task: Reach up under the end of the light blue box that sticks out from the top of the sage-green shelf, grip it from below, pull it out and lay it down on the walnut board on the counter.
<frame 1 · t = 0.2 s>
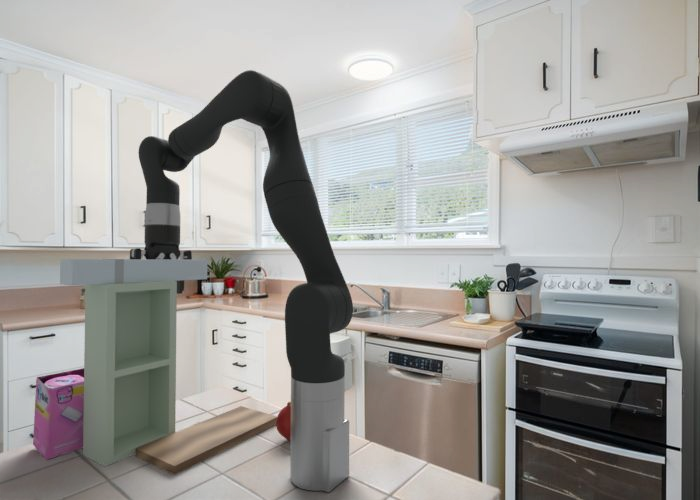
hand: (161, 294, 94), 29 cm above the countertop, tool pointing down, fingers open, 8 cm apart
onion: (290, 441, 84), on the countertop
board: (213, 438, 84), on the countertop
shelf: (131, 445, 81), on the countertop
light blue box: (142, 281, 83), point 33 cm above the countertop, touching shelf
gum box: (102, 433, 86), on the countertop
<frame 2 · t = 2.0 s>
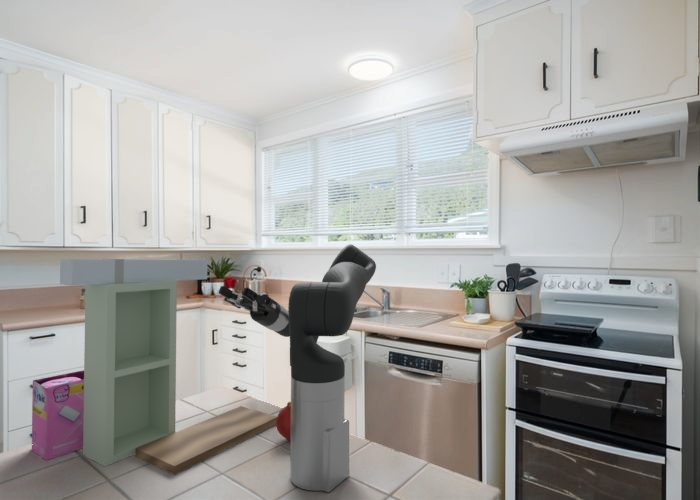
hand: (232, 289, 103), 29 cm above the countertop, tool pointing upward, fingers open, 8 cm apart
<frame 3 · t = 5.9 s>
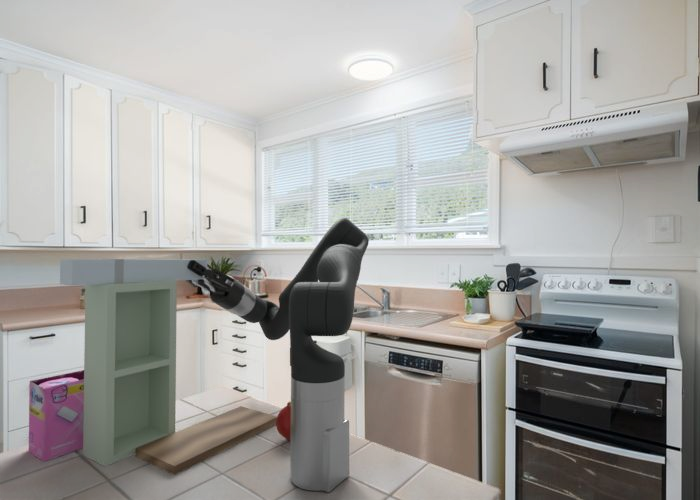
hand: (182, 263, 91), 36 cm above the countertop, tool pointing upward, fingers closed on light blue box, 4 cm apart
light blue box: (142, 281, 83), point 33 cm above the countertop, touching gripper, shelf
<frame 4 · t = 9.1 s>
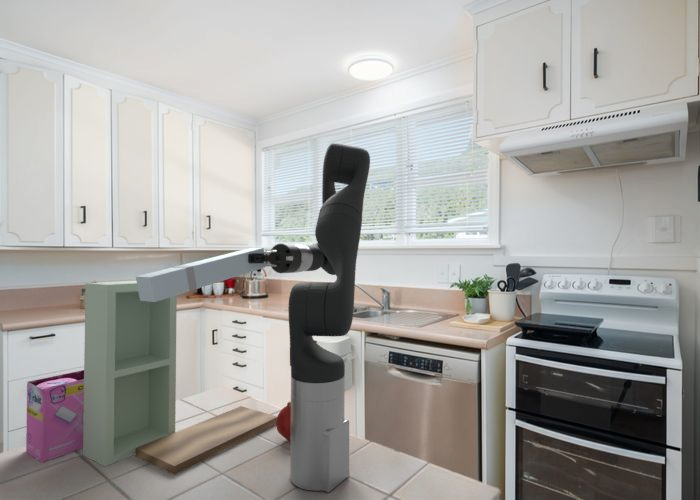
hand: (241, 258, 91), 37 cm above the countertop, tool horizontal, fingers closed on light blue box, 4 cm apart
light blue box: (210, 281, 84), point 32 cm above the countertop, tilted 12°, touching gripper
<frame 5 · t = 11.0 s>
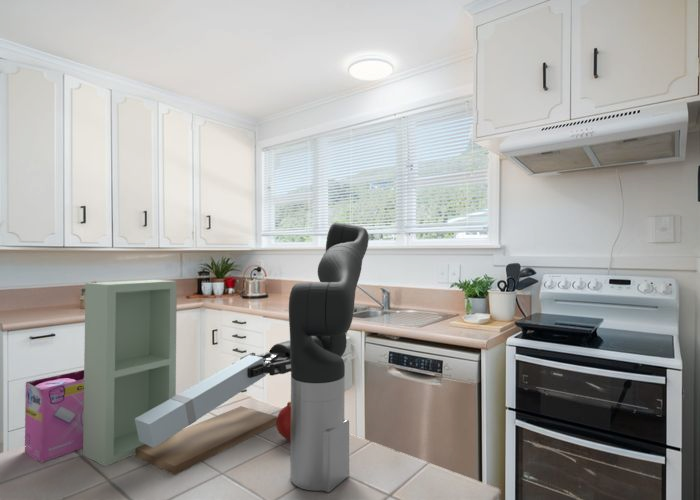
hand: (240, 371, 91), 12 cm above the countertop, tool horizontal, fingers closed on light blue box, 4 cm apart
light blue box: (210, 404, 84), point 7 cm above the countertop, tilted 12°, touching gripper
when the fingers open (7 cm above the countertop, at t = 12.7 s): light blue box drops 1 cm, resting on board.
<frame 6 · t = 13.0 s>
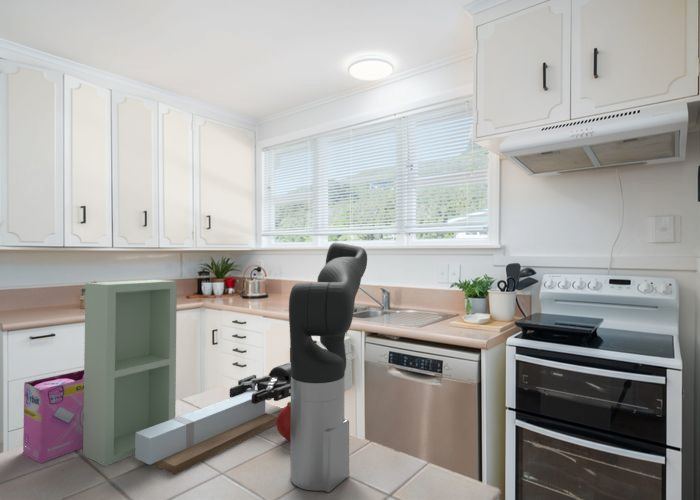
hand: (241, 396, 91), 7 cm above the countertop, tool horizontal, fingers open, 6 cm apart
light blue box: (208, 432, 84), point 2 cm above the countertop, touching board
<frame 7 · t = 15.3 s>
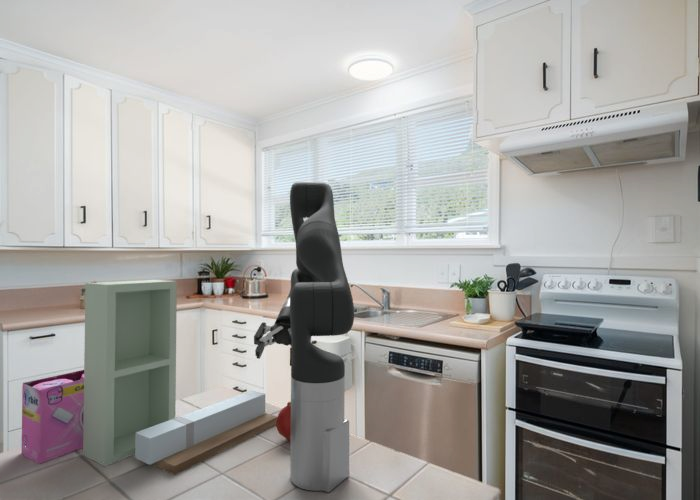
hand: (274, 359, 100), 12 cm above the countertop, tool tilted 55°, fingers open, 8 cm apart
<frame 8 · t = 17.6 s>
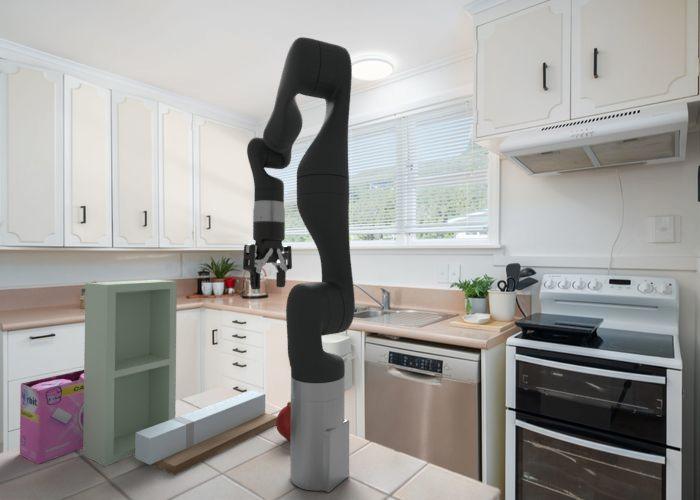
hand: (268, 288, 98), 30 cm above the countertop, tool pointing down, fingers open, 8 cm apart
at the end: light blue box inside the target area on the board (1.2 cm from its centre), point 1.5 cm above the board's base; the gripper is holding nothing; light blue box touching board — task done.
